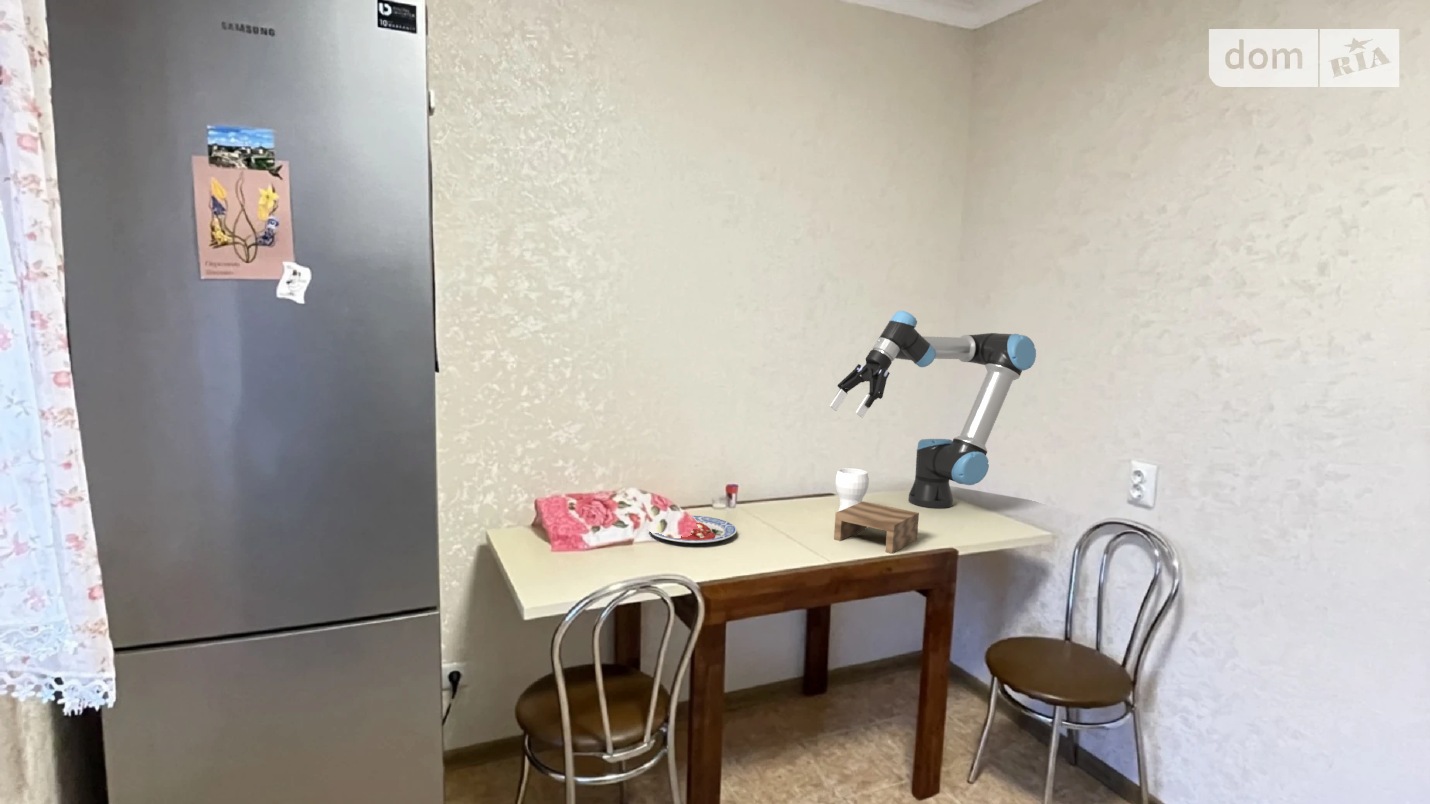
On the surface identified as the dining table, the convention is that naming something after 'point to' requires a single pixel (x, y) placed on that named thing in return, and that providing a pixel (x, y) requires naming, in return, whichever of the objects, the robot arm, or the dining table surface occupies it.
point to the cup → (851, 486)
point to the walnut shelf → (878, 523)
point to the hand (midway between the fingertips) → (845, 411)
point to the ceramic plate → (706, 531)
